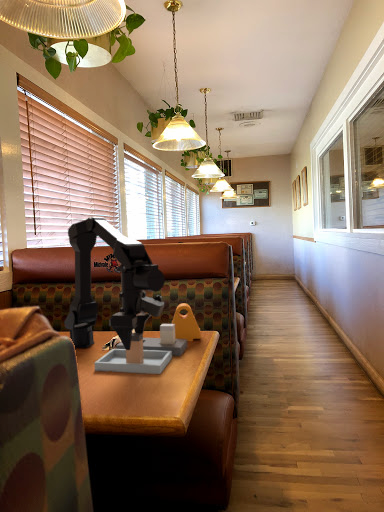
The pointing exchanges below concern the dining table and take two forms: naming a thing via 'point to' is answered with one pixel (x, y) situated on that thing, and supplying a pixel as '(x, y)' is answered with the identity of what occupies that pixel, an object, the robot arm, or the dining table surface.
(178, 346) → the block
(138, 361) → the block
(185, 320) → the bracket
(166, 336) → the block
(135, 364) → the parts tray
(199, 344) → the dining table surface
